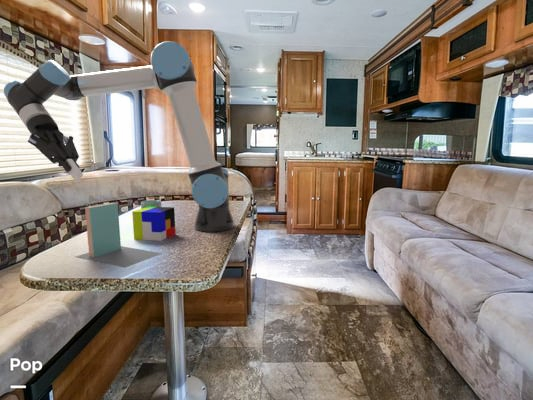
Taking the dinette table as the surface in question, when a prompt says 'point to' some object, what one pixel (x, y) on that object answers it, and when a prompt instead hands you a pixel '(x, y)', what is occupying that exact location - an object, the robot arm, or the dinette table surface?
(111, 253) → the mat
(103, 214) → the tile
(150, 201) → the cup
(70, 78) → the robot arm
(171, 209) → the puzzle toy
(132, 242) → the dinette table surface
